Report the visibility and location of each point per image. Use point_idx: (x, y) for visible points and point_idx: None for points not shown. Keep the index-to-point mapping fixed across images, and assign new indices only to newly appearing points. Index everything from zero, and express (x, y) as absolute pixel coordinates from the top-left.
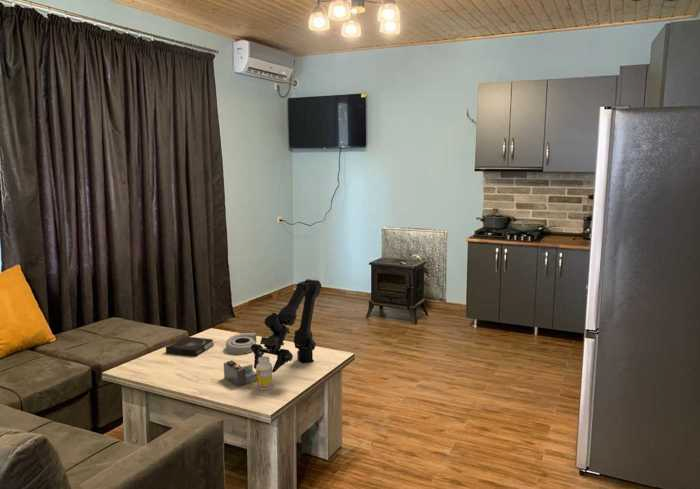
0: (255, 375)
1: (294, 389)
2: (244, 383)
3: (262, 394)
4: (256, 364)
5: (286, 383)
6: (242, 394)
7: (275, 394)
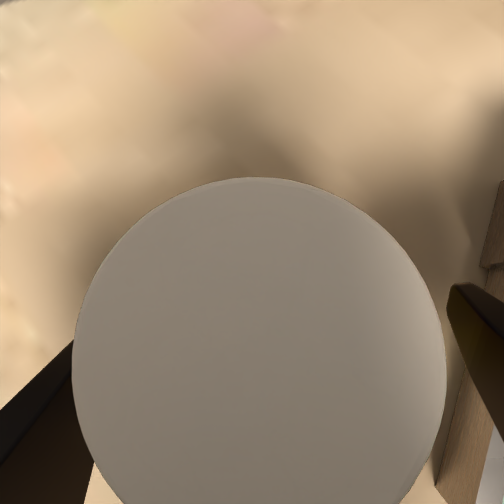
0: None
1: None
2: (488, 250)
3: None
4: (488, 347)
5: None
6: (339, 102)
7: None
